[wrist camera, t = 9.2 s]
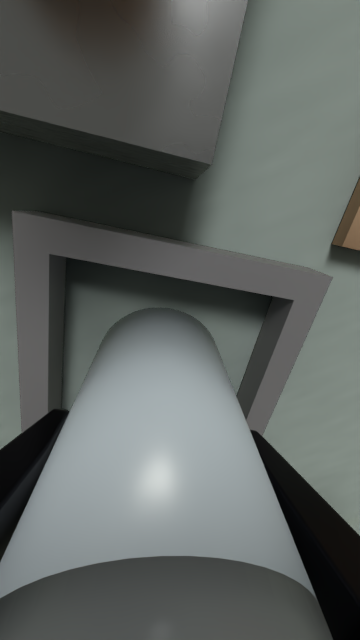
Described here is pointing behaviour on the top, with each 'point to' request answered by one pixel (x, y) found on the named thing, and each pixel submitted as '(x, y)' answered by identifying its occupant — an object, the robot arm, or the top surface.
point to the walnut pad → (350, 224)
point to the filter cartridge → (156, 508)
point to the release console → (120, 77)
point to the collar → (163, 259)
